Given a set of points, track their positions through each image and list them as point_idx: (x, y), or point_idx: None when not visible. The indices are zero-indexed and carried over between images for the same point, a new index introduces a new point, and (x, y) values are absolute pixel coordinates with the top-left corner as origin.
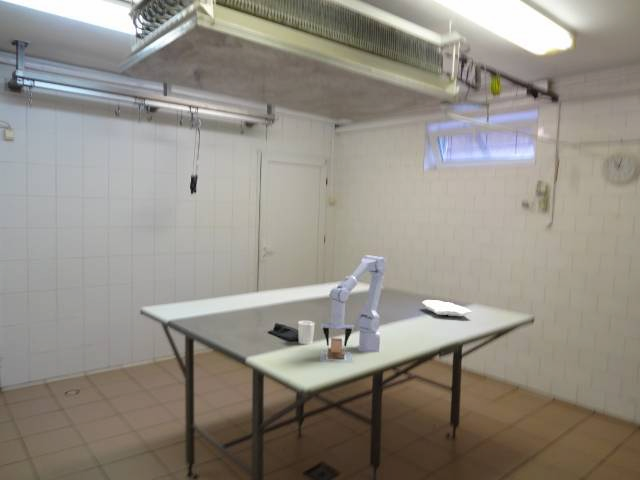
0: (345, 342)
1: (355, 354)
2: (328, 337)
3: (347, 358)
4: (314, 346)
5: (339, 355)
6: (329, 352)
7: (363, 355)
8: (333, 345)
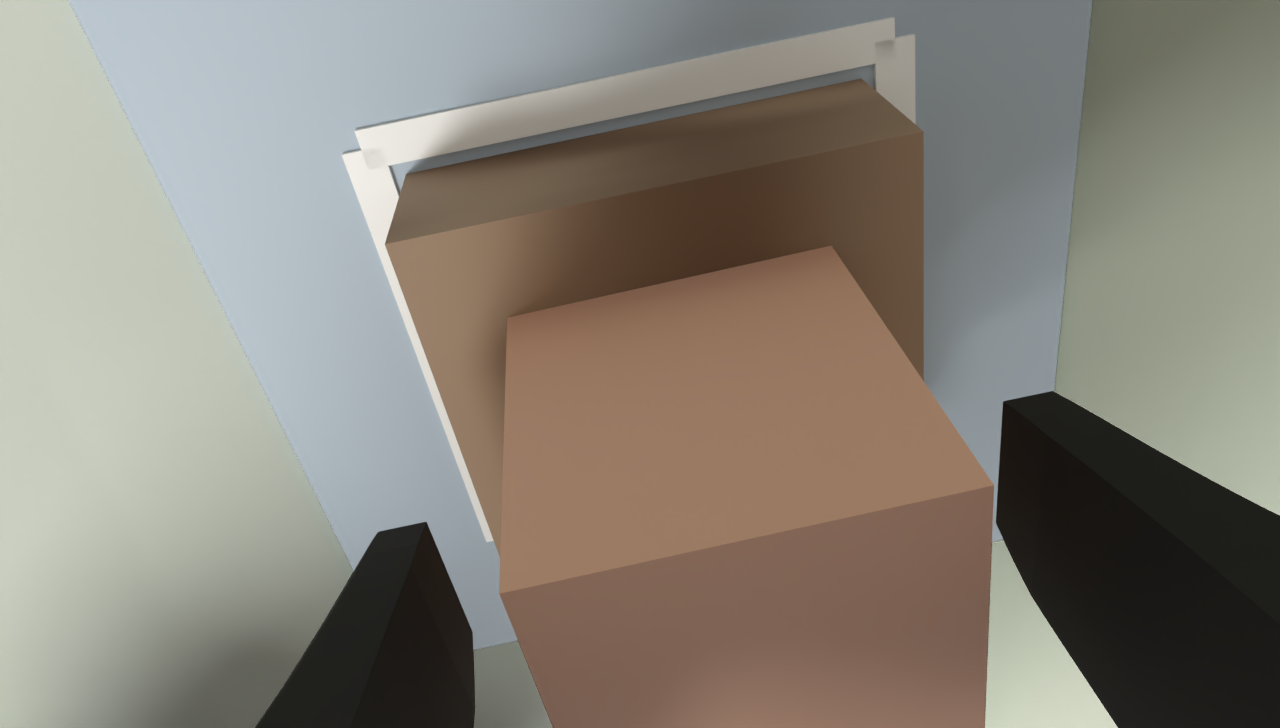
0: (368, 624)
1: (275, 613)
2: (1262, 602)
3: (346, 279)
4: (1100, 706)
5: (552, 184)
6: (889, 212)
7: (86, 616)
8: (841, 384)
